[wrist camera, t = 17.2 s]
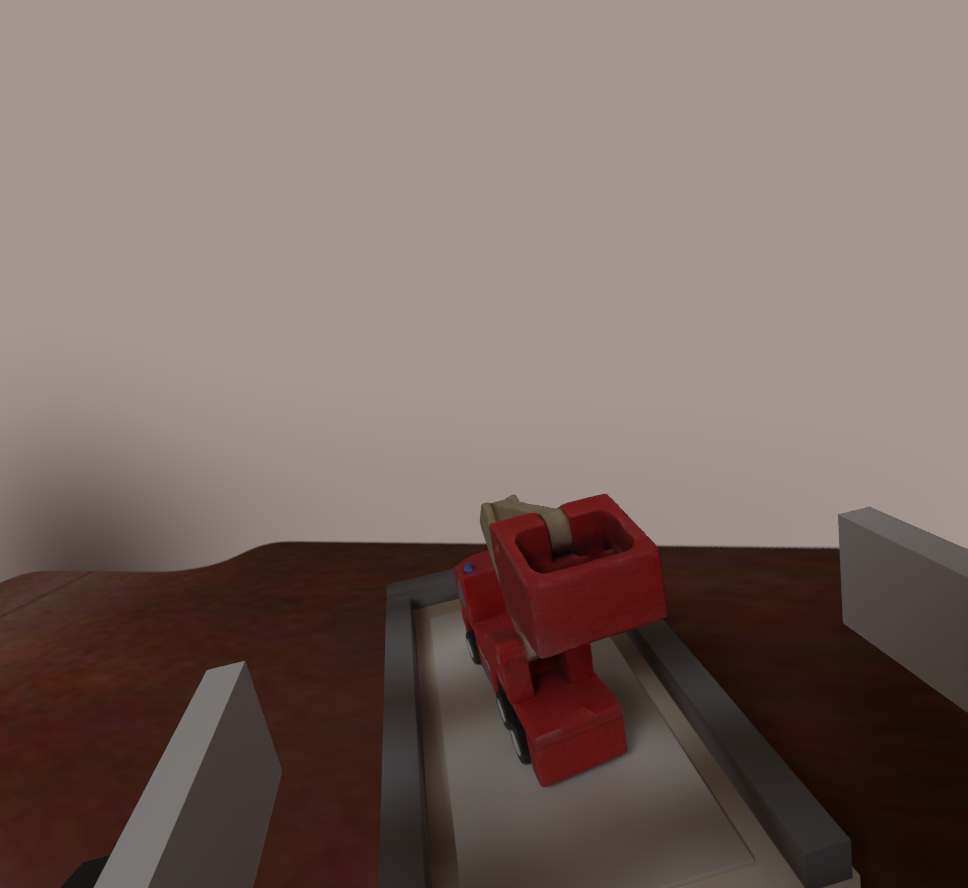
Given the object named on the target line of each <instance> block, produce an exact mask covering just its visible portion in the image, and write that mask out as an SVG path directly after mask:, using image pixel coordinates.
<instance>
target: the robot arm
mask: <svg viewBox="0 0 968 888" xmlns="http://www.w3.org/2000/svg"><path fill="white" fill-rule="evenodd" d="M838 523H839V544H840V567H841V589H842V610H843V623H844V624H845V625H847V626H848V627H850V628H851V629H852V630H854V631H855V632H856V633H858V634H859V635H861V636H862V637H863V638H865V639H866V640H868V641H869V642H870V643H872V644H873V645H874V646H876V647H877V648H879V649H880V650H881V651H883V652H884V653H885V654H887V655H888V656H890V657H891V658H892V659H894V660H895V661H897V662H898V663H899V664H901V665H902V666H903V667H905V668H906V669H908V670H909V671H910V672H912V673H913V674H915V675H916V676H917V677H919V678H920V679H921V680H923V681H924V682H926V683H927V684H928V685H930V686H931V687H933V688H934V689H935V690H937V691H938V692H939V693H941V694H942V695H944V696H945V697H946V698H948V699H949V700H951V701H952V702H953V703H955V704H956V705H957V706H959V707H960V708H962V709H963V710H964V711H966V712H967V713H968V549H965V548H963V547H961V546H959V545H956V544H953V543H951V542H949V541H947V540H945V539H942V538H940V537H938V536H936V535H933V534H931V533H929V532H926V531H924V530H922V529H919V528H917V527H915V526H912V525H910V524H908V523H906V522H903V521H901V520H899V519H896V518H894V517H892V516H890V515H887V514H885V513H883V512H880V511H878V510H876V509H873V508H871V507H867V508H863V509H859V510H855V511H851V512H847V513H843V514H839V515H838ZM281 773H282V769H281V766H280V763H279V760H278V757H277V754H276V751H275V748H274V745H273V742H272V739H271V736H270V734H269V731H268V728H267V725H266V722H265V719H264V716H263V713H262V710H261V707H260V704H259V701H258V698H257V695H256V692H255V689H254V686H253V683H252V680H251V677H250V674H249V671H248V668H247V665H246V662H245V661H243V662H239V663H235V664H230V665H226V666H222V667H218V668H214V669H210V670H207V671H206V673H205V675H204V677H203V679H202V681H201V683H200V685H199V687H198V689H197V690H196V692H195V694H194V696H193V698H192V700H191V702H190V704H189V706H188V708H187V710H186V712H185V713H184V715H183V717H182V719H181V721H180V723H179V725H178V727H177V729H176V731H175V733H174V735H173V737H172V738H171V740H170V742H169V744H168V746H167V748H166V750H165V752H164V754H163V756H162V758H161V760H160V761H159V763H158V765H157V767H156V769H155V771H154V773H153V775H152V777H151V779H150V781H149V783H148V784H147V786H146V788H145V790H144V792H143V794H142V796H141V798H140V800H139V802H138V804H137V806H136V808H135V809H134V811H133V813H132V815H131V817H130V819H129V821H128V823H127V825H126V827H125V829H124V831H123V832H122V834H121V836H120V838H119V840H118V842H117V844H116V846H115V848H114V850H113V852H112V854H111V855H109V856H105V857H102V858H98V859H94V860H90V861H87V862H83V864H82V865H81V866H80V867H79V868H78V869H77V870H76V871H75V872H74V873H73V875H72V876H71V877H70V878H69V879H68V880H67V881H66V882H65V883H64V884H63V886H62V887H61V888H253V885H254V881H255V877H256V873H257V869H258V865H259V861H260V857H261V853H262V849H263V845H264V841H265V837H266V833H267V829H268V825H269V821H270V817H271V813H272V809H273V805H274V801H275V797H276V793H277V789H278V785H279V781H280V777H281Z"/></svg>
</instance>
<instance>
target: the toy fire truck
mask: <svg viewBox="0 0 968 888" xmlns="http://www.w3.org/2000/svg"><path fill="white" fill-rule="evenodd" d="M480 525H481V528H482V531H483V534H484V537H485V540H486V543H487V546H488V549H489V550H487V551H484V552H480V553H478V554H475V555H473V556H471V557H468V558H467V559H465V560H464V561H462V562H461V563H459V564H458V565H457V566H456V567H455V568H454V573H455V581H456V587H457V592H458V596H459V599H460V604H461V606H462V610H461V611H462V617H463V621H464V624H465V628H466V642H467V645H468V649H469V653H470V656H471V658H472V660H473V662H474V663H475V664H480V663H481V664H482V667H483V669H484V671H485V673H486V675H487V677H488V679H489V681H490V683H491V685H492V687H493V689H494V691H495V693H496V700H497V704H498V709H499V712H500V714H501V717H502V720H503V722H504V726H505V727H506V728H507V729H508V730H510V733H511V738H512V741H513V745H514V747H515V750H516V753H517V755H518V757H519V760H520V761H521V763H522V764H530V763H532V767H533V770H534V773H535V775H536V777H537V780H538V782H539V784H540V785H541V786H542V787H548V786H550V785H553V784H555V783H557V782H559V781H562V780H565V779H567V778H569V777H571V776H573V775H576V774H578V773H581V772H584V771H586V770H588V769H590V768H592V767H595V766H597V765H600V764H603V763H605V762H607V761H609V760H611V759H614V758H616V757H619V756H621V755H623V754H625V753H627V751H628V747H627V741H626V734H625V727H624V720H623V716H622V715H623V711H624V710H623V707H622V705H621V704H620V702H619V701H618V700H617V699H616V697H615V696H614V695H613V694H612V693H611V691H610V690H609V689H608V687H607V686H606V685H605V684H604V683H603V681H602V680H601V679H600V678H599V676H598V675H597V674H596V673H595V672H594V670H593V661H592V652H591V645H590V643H592V642H595V641H598V640H601V639H604V638H607V637H611V636H615V635H618V634H621V633H624V632H626V631H630V630H633V629H637V628H639V627H641V626H643V625H647V624H652V623H656V622H658V621H661V620H663V619H665V618H666V617H667V616H668V613H667V604H666V595H665V584H664V577H663V573H662V563H661V558H660V551H659V549H658V548H657V546H656V545H655V544H654V543H653V541H652V540H651V539H650V538H649V537H648V536H646V534H645V533H644V531H642V530H641V529H640V528H639V527H638V526H637V525H636V524H635V523H634V522H633V521H632V520H631V519H630V518H629V517H628V515H627V514H626V513H625V512H624V511H623V510H622V509H621V508H620V507H619V506H618V504H616V503H615V502H614V501H613V499H611V498H610V497H609V496H608V495H607V494H601V495H597V496H593V497H588V498H585V499H581V500H577V501H573V502H569V503H566V504H563V505H561V506H560V507H559V508H556V509H554V508H549V507H544V506H539V505H532V504H526V503H523V502H519V500H518V498H517V497H516V495H512V496H510V497H508V498H506V499H505V500H502V501H498V502H494V503H483V504H482V506H481V514H480Z"/></svg>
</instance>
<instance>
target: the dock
mask: <svg viewBox="0 0 968 888" xmlns="http://www.w3.org/2000/svg"><path fill="white" fill-rule="evenodd" d="M387 599H388V601H386V638H385V676H384V715H383V753H382V792H381V831H380V869H379V888H861V886H860V875H859V874H858V873H857V871H856V870H855V869H854V868H853V867H852V853H851V840H850V838H849V837H848V836H847V835H846V834H845V833H844V831H843V830H842V829H841V828H840V827H839V825H838V824H837V823H836V822H835V821H834V820H833V818H832V817H831V816H830V815H829V814H828V813H827V811H826V810H825V809H824V808H823V807H822V805H821V804H820V803H819V802H818V801H817V800H816V798H815V797H814V796H813V795H812V794H811V792H810V791H809V790H808V789H807V788H806V787H805V785H804V784H803V783H802V782H801V781H800V780H799V778H798V777H797V776H796V775H795V774H794V772H793V771H792V770H791V769H790V768H789V767H788V765H787V764H786V763H785V762H784V761H783V760H782V758H781V757H780V756H779V755H778V754H777V752H776V751H775V750H774V749H773V748H772V747H771V745H770V744H769V743H768V742H767V741H766V740H765V738H764V737H763V736H762V735H761V734H760V732H759V731H758V730H757V729H756V728H755V727H754V725H753V724H752V723H751V722H750V721H749V719H748V718H747V717H746V716H745V715H744V714H743V712H742V711H741V710H740V709H739V708H738V707H737V705H736V704H735V703H734V702H733V701H732V699H731V698H730V697H729V696H728V695H727V694H726V692H725V691H724V690H723V689H722V688H721V687H720V685H719V684H718V683H717V682H716V681H715V679H714V678H713V677H712V676H711V675H710V674H709V672H708V671H707V670H706V669H705V668H704V667H703V665H702V664H701V663H700V662H699V661H698V659H697V658H696V657H695V656H694V655H693V654H692V652H691V651H690V650H689V649H688V648H687V646H686V645H685V644H684V643H683V642H682V641H681V639H680V638H679V637H678V636H677V635H676V634H675V632H674V631H673V630H672V629H671V628H670V626H669V625H668V624H667V623H666V622H665V621H664V619H663V620H661V621H658V622H656V623H652V624H647V625H643V626H641V627H639V628H637V629H633V630H630V631H626V632H624V633H621V634H618V635H615V636H611V637H607V638H604V639H601V640H598V641H595V642H592V643H590V645H591V652H592V661H593V670H594V672H595V673H596V674H597V675H598V676H599V678H600V679H601V680H602V681H603V683H604V684H605V685H606V686H607V687H608V689H609V690H610V691H611V693H612V694H613V695H614V696H615V697H616V699H617V700H618V701H619V702H620V704H621V705H622V707H623V710H624V711H623V715H622V716H623V720H624V727H625V734H626V741H627V747H628V751H627V753H625V754H623V755H621V756H619V757H616V758H614V759H611V760H609V761H607V762H605V763H603V764H600V765H597V766H595V767H592V768H590V769H588V770H586V771H584V772H581V773H578V774H576V775H573V776H571V777H569V778H567V779H565V780H562V781H559V782H557V783H555V784H553V785H550V786H548V787H542V786H541V785H540V784H539V782H538V780H537V777H536V775H535V773H534V770H533V767H532V763H530V764H522V763H521V761H520V760H519V757H518V755H517V753H516V750H515V747H514V745H513V741H512V738H511V733H510V730H508V729H507V728H506V727H505V726H504V722H503V720H502V717H501V714H500V712H499V709H498V704H497V700H496V693H495V691H494V689H493V687H492V685H491V683H490V681H489V679H488V677H487V675H486V673H485V671H484V669H483V667H482V664H481V663H480V664H475V663H474V662H473V660H472V658H471V656H470V653H469V649H468V645H467V642H466V628H465V624H464V621H463V617H462V611H461V610H462V606H461V604H460V599H459V596H458V592H457V587H456V581H455V573H454V569H450V570H446V571H442V572H438V573H434V574H429V575H425V576H421V577H417V578H413V579H409V580H405V581H401V582H397V583H393V584H389V585H387Z"/></svg>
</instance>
